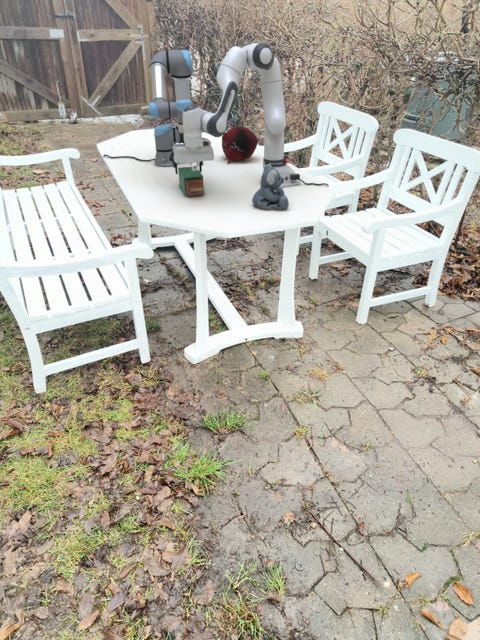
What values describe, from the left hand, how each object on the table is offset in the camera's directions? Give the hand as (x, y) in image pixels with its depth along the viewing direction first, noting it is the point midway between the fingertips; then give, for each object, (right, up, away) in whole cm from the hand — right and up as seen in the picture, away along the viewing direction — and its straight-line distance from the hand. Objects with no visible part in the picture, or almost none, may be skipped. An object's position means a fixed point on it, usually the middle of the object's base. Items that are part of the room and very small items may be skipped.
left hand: (188, 172), depth 251 cm
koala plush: (+44, -24, -21) cm, 54 cm away
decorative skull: (+28, +26, +51) cm, 64 cm away
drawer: (+3, -12, -5) cm, 14 cm away
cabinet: (+2, -10, 0) cm, 10 cm away
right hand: (+5, -6, -21) cm, 22 cm away
